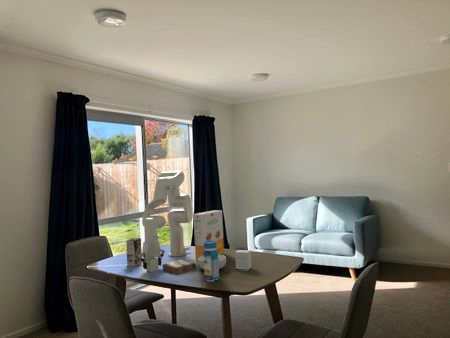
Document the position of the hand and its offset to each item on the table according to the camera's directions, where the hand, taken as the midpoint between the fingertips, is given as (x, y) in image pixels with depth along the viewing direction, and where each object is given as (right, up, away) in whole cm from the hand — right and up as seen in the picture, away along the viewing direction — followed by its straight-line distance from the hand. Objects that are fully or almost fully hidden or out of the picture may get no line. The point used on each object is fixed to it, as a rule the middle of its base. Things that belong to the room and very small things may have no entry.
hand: (152, 267), depth 219 cm
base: (+16, -1, -2) cm, 16 cm away
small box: (+54, 0, -6) cm, 55 cm away
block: (0, -2, 0) cm, 2 cm away
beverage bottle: (+36, 0, -24) cm, 43 cm away
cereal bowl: (+36, -1, -4) cm, 36 cm away
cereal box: (+33, -1, +27) cm, 43 cm away
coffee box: (-15, -3, +16) cm, 22 cm away
